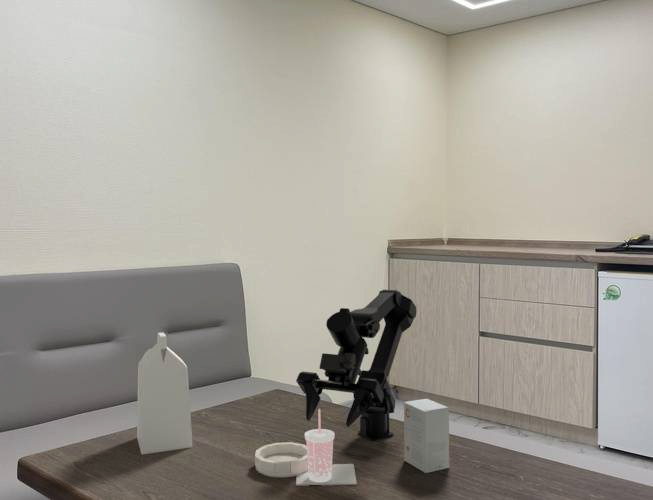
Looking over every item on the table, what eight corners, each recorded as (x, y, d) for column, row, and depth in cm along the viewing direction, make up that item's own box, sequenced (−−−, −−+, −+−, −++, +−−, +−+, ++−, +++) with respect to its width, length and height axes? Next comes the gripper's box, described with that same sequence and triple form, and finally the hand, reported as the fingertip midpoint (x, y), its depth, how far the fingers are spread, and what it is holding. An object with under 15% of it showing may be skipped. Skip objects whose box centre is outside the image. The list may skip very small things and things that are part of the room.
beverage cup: (340, 474, 125) (339, 406, 124) (326, 486, 119) (325, 415, 119) (314, 469, 127) (313, 403, 127) (299, 480, 122) (298, 411, 121)
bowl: (294, 452, 138) (294, 438, 138) (322, 469, 128) (322, 455, 128) (246, 463, 132) (246, 449, 132) (271, 482, 122) (271, 467, 122)
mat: (353, 465, 130) (353, 463, 130) (356, 484, 120) (356, 483, 120) (297, 466, 130) (297, 464, 130) (295, 485, 120) (295, 484, 120)
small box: (450, 468, 128) (449, 407, 128) (425, 474, 125) (424, 411, 125) (427, 455, 135) (427, 397, 135) (403, 460, 133) (402, 401, 132)
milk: (192, 447, 142) (190, 336, 141) (141, 454, 138) (138, 340, 137) (184, 431, 153) (182, 328, 153) (137, 437, 149) (134, 332, 148)
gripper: (299, 335, 134) (273, 396, 125) (378, 341, 126) (356, 408, 116) (316, 363, 142) (293, 424, 132) (392, 371, 133) (372, 436, 124)
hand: (327, 422), depth 126 cm, fingers open, 9 cm apart
